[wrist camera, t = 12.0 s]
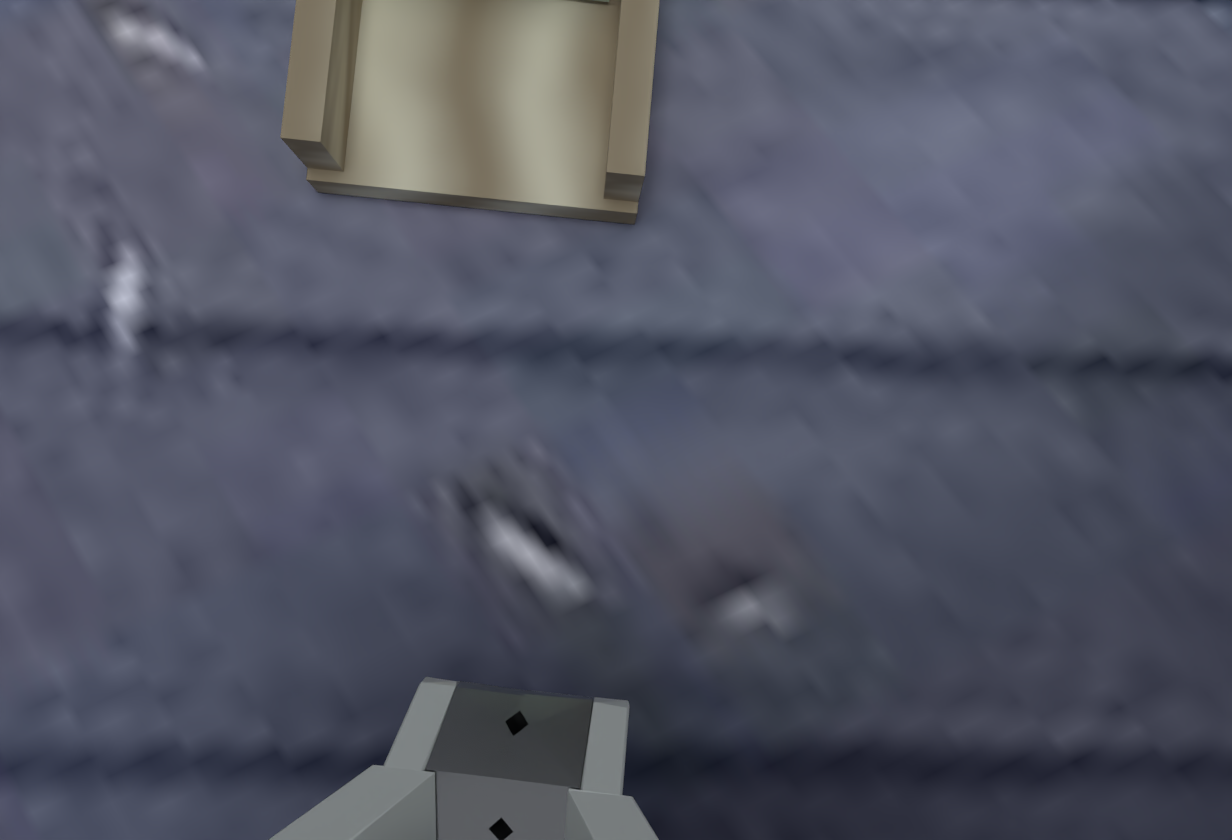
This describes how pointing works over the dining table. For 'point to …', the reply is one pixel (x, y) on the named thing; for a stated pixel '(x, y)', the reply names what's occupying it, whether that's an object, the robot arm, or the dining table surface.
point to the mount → (475, 102)
